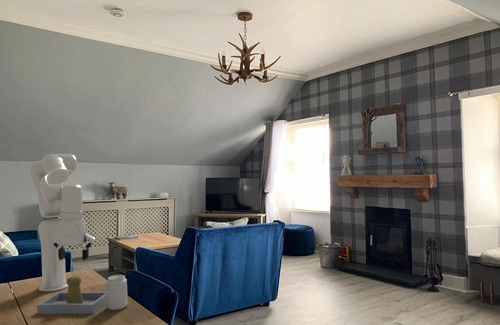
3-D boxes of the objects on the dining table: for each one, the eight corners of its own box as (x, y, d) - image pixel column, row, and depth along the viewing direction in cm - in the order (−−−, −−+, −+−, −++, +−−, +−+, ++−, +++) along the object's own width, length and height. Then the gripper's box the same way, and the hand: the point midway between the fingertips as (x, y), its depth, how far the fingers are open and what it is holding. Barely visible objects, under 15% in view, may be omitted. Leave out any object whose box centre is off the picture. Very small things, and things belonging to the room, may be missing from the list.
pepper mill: (66, 308, 146) (65, 279, 146) (65, 303, 151) (65, 275, 151) (83, 305, 149) (82, 277, 149) (82, 300, 154) (81, 273, 154)
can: (121, 311, 143) (120, 279, 143) (103, 310, 145) (102, 279, 145) (131, 304, 151) (130, 274, 151) (114, 303, 152) (113, 273, 152)
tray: (37, 313, 144) (37, 304, 144) (59, 300, 158) (59, 292, 158) (93, 313, 142) (92, 304, 142) (110, 300, 156) (110, 291, 156)
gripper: (45, 217, 147) (47, 261, 147) (88, 217, 146) (89, 261, 146) (57, 214, 155) (58, 256, 155) (98, 214, 153) (99, 256, 153)
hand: (73, 259), depth 150 cm, fingers open, 9 cm apart
